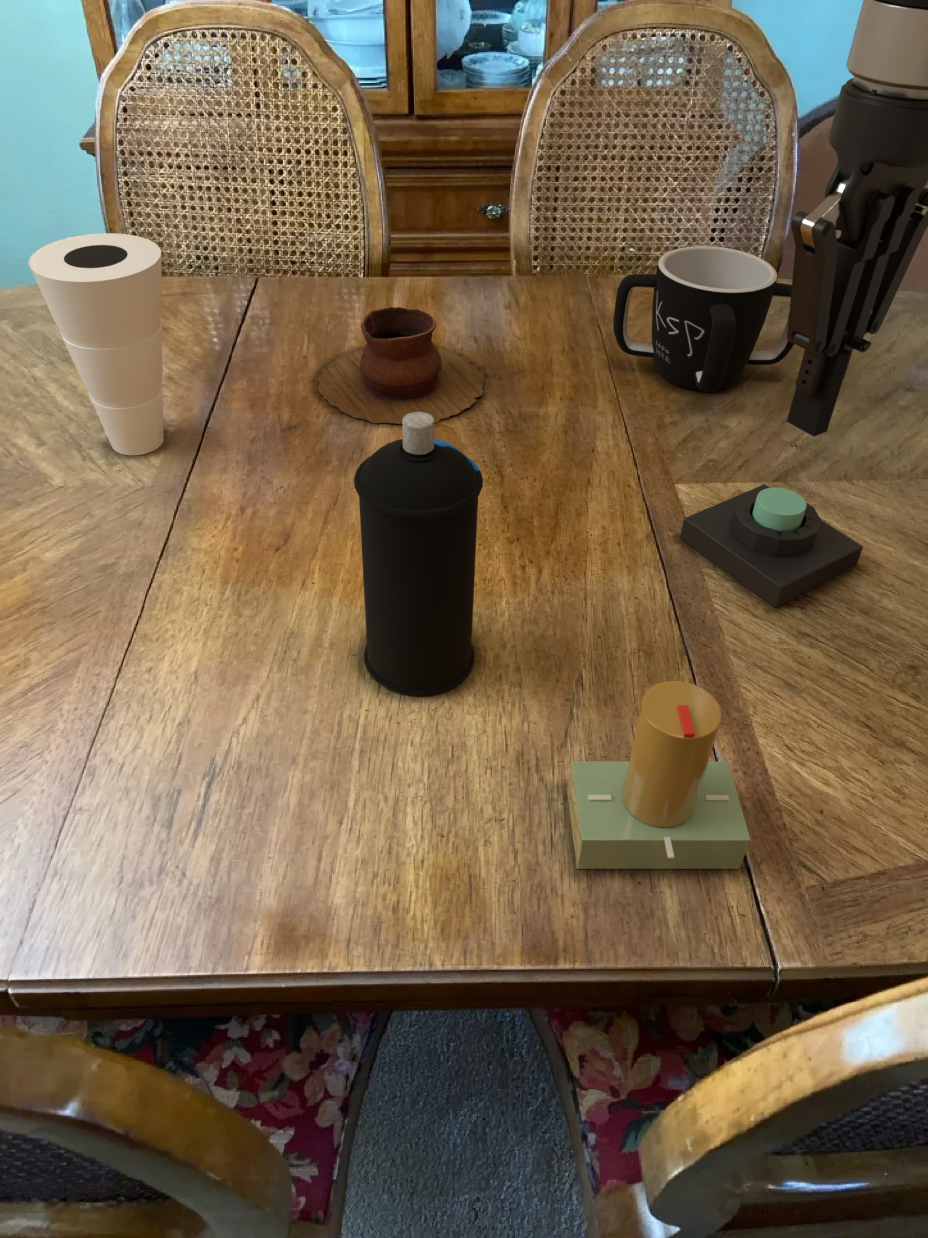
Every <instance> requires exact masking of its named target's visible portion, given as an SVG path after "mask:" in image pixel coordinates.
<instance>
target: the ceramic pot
mask: <svg viewBox="0 0 928 1238" xmlns="http://www.w3.org/2000/svg"><path fill="white" fill-rule="evenodd" d="M436 326H437V321H436V320H435V319H434V317H433V316H432V315H431V314H429V313H428V312H426V311H425V310H424V311H423V310H420V309H418V308H414V309H411V308H409V309H408V308H406V307H401V306H397V307H393V306H389V307H382V308H378V309H373V310H371V311H370V312H369V313H368V314H366V315H365V316H364V317H363V319H362V322H361V323H360V329H361V333H362V334H363V337H364V340H365V342H366V343H365V345H364V347H363V348H360V349H356V350H354V351H353V352H351V353H348V354H345V355H342V356H341V357H339V358H336V359H335V360H334V361H333V362H332V361H331V362H329V364H327V365H325V368H322V369H321V374H320V376H319V377H318V378H317V379H316V380H317V381H318V383H319V385H318V389H317V391H318V392H319V394H320V396H322V397H323V399H324V400H326V401H327V402H328V403H329V405H330V406H333V407H336V408H337V409H338V411H339V412H341V413H344V414H345V415H348V416H351V417H352V418H353V419H362V420H365V421H368V422H369V423H373V424H383V423H388V424H395V425H402V420H403V417H404V416H406V415H407V414H409V413H412V412H424V413H427V414H430V415H431V416H432V417H433V418H434V424H436V423H438V422H439V421H440V420H442V419H449V418H450V416H456V415H458V414H459V413H461V412H463V411H464V410H465V409H469V408H471V407H472V406H471V405H473V404H474V403H475V402H478V399H476V398H478V397H482V394H483V392H484V390H483V387H484V386H485V383H486V381H485V377H484V374H482V372H481V371H480V370H478V366H477V365H476V364H471V360H469V359H467V358H466V357H465V356H461V355H459V353H455V352H454V351H452V350H450V349H445V348H443V347H436V345H435V343H433V341H432V339H433V333H434V331H435V330H436Z"/></svg>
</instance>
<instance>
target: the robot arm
mask: <svg viewBox="0 0 928 1238" xmlns="http://www.w3.org/2000/svg"><path fill="white" fill-rule="evenodd" d="M845 66H846V68H847V70H848V72H849V73H850V74H851V75H852V76H853V77H852V78H849V79H848V80H847V81H845V83H844V84H843V85H842V86H841V87H840V92H839V94H838V99H837V103H836V106H835V110H834V115H833V119H832V122H831V127H830V130H829V135H828V141H829V144H830V146H831V148H832V149H834V151H835V153H836V156H837V163H836V166H835V168H834V170H833V173H832V174H831V176H830V178H829V180H828V182H827V184H826V186H825V190H824V200H822V202H821V203H820V204H818V206H817V207H816V208H815V209H814V210H813V211H812V212H811V213H809V212H806V211H803V210H799V211H798V212H796V213H795V214H794V215H793V217H792V220H791V224H790V227H791V232H792V237H793V241H794V245H795V248H794V258H793V260H794V261H793V269H792V270H793V271H792V279H791V285H792V290H791V298H790V302H789V310H788V311H789V312H788V315H789V322H788V333H787V340H788V341H789V342H791V343H793V344H794V345H796V346H798V347H800V348H802V349H804V351H803V355H802V356H803V357H802V360H801V363H800V366H799V371H798V373H797V374H798V375H797V377H796V381H795V389H794V394H793V396H792V401H791V404H790V408H789V411H788V415H787V419H786V423H789V424H790V425H792V426H793V427H795V428H798V429H799V430H801V431H803V432H805V433H806V434H808V435H810V436H812V437H816V436H820V435H822V434H824V433H827V432H828V429H829V426H830V422H831V419H832V416H833V413H834V410H835V407H836V403H837V401H838V397H839V395H840V391H841V387H842V384H843V381H844V380H845V377H846V373H847V370H848V367H849V364H850V361H851V357H852V355H853V351H854V350H856V352H857V351H858V352H860V353H866V352H867V351H868V350H869V348H870V347H871V345H872V342H871V341H869V340H867V339H865V335H866V334H870V335H873V336H874V335H875V334H877V333H878V332H879V331H880V329H881V327H882V325H883V323H884V320H885V319H886V316H887V314H888V312H889V310H890V308H891V306H892V303H893V301H894V299H895V297H896V295H897V293H898V291H899V288H900V287H901V284H902V282H903V279H904V278H905V275H906V273H907V271H908V269H909V267H910V264H911V262H912V260H913V258H914V256H915V254H916V251H917V250H918V247H919V245H920V243H921V241H922V239H923V236H924V234H925V232H926V230H927V229H928V0H862V4H861V8H860V11H859V14H858V19H857V22H856V26H855V29H854V34H853V38H852V41H851V45H850V49H849V53H848V56H847V60H846V63H845Z"/></svg>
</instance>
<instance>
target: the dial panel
mask: <svg viewBox="0 0 928 1238" xmlns="http://www.w3.org/2000/svg"><path fill="white" fill-rule="evenodd" d="M628 763H629V760H572V761H571V763H570V768H569V769H570V770H569V776H568V783H567V788H566V794H567V800H568V801H567V802H568V810H569V816H570V825H571V833H572V841H573V849H574V857H575V865H576V869H577V870H740V869H741V867H742V864H743V861H744V859H745V857H746V853H747V851H748V848H749V846H750V843H751V840H752V839H751V836H750V833H749V829H748V826H747V822H746V819H745V816H744V812H743V809H742V805H741V802H740V798H739V794H738V791H737V788H736V785H735V780H734V778H733V774H732V771H731V766H730V764H729V761H709V762H708V766H707V769H706V772H705V776H704V779H703V782H702V785H701V789H700V792H699V795H698V799H697V802H696V805H695V809H694V811H693V813H692V815H691V816H690V818H689V819H688V820H686V821H685V822H684V823H682V824H680V825H677V826H674V827H666V828H663V827H655V826H651V825H648V824H646V823H644V822H642V821H640V820H638V819H637V818H636V817H634V816H633V815H632V814H631V813H630V811H629V810H628V809H627V807H626V805H625V803H624V801H623V796H622V791H623V786H624V781H625V776H626V772H627V767H628Z"/></svg>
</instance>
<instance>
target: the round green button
mask: <svg viewBox="0 0 928 1238" xmlns="http://www.w3.org/2000/svg"><path fill="white" fill-rule="evenodd" d="M806 503H807V501H806V500H805V498H804V497H803V496H802V495H800V494H799V493H797V492H796V491H794V490H791V489H788V488H784V487H770V488H767V489H764V490H762V491H760V492H759V493H758V495H757V498H756V502H755V506H754V509H753V514H752V515H753V518H754V520H755V521H756V522H758V523H759V524H761V525H762V526H764V527H767V528H770V529H774V530H778V531H794V530H796V529H798V528H799V527H800V525H801V523H802V520H803V517H804V514H805V511H806V507H807V504H806Z"/></svg>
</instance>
